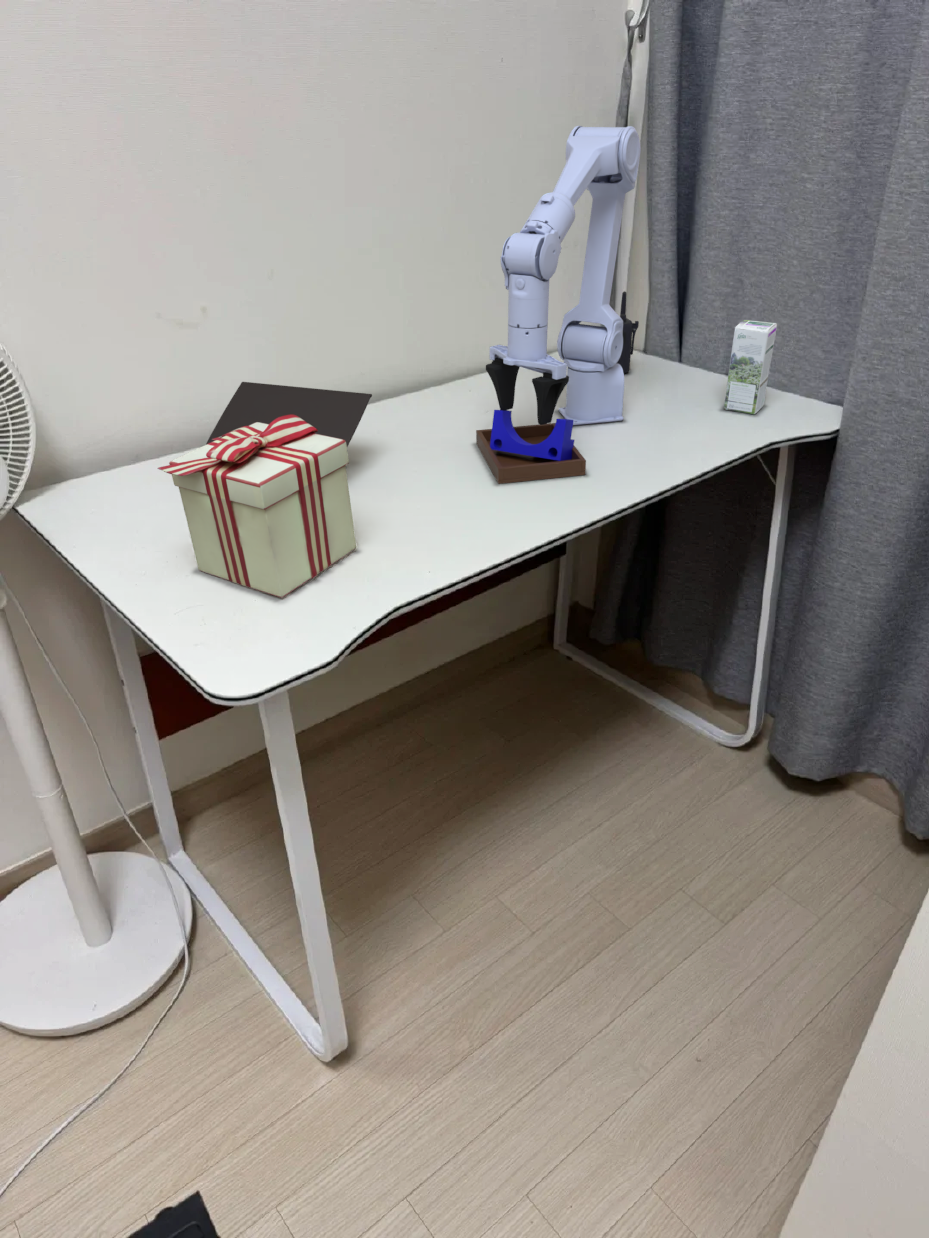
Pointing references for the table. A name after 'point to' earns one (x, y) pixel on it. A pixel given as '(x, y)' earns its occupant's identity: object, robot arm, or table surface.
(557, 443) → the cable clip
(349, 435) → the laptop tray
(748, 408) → the syrup box
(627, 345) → the two-way radio
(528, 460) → the tray
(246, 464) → the gift box
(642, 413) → the table surface
